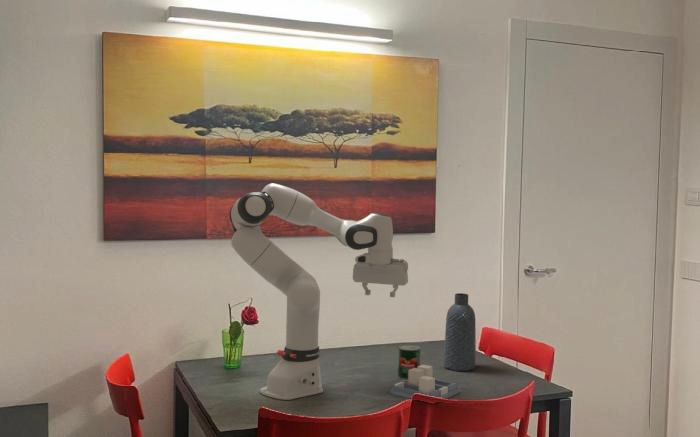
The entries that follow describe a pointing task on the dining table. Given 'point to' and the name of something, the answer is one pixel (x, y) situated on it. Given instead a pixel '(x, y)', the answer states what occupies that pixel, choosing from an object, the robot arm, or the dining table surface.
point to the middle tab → (415, 375)
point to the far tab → (426, 370)
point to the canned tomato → (408, 359)
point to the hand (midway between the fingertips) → (380, 296)
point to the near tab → (426, 384)
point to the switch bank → (441, 390)
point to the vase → (460, 336)
